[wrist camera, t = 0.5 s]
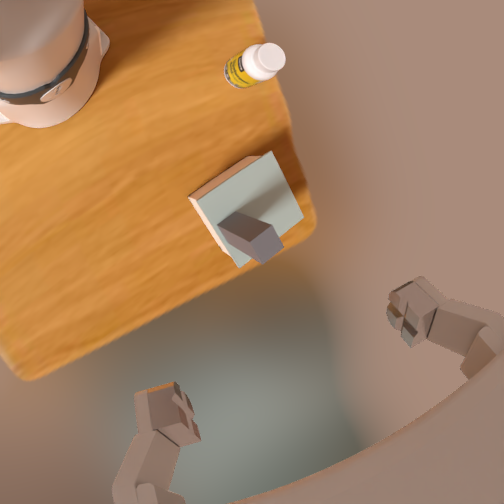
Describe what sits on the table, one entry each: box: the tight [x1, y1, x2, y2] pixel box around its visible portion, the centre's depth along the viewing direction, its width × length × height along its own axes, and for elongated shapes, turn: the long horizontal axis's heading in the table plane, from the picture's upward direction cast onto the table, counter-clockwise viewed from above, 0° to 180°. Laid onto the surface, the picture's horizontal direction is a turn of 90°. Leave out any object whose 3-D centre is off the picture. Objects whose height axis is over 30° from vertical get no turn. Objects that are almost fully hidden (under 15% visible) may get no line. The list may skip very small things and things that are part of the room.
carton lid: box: [196, 151, 304, 268], centre depth 37 cm, size 12×11×10 cm
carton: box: [188, 156, 261, 256], centre depth 44 cm, size 11×10×6 cm
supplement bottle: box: [224, 43, 286, 88], centre depth 37 cm, size 5×5×10 cm
